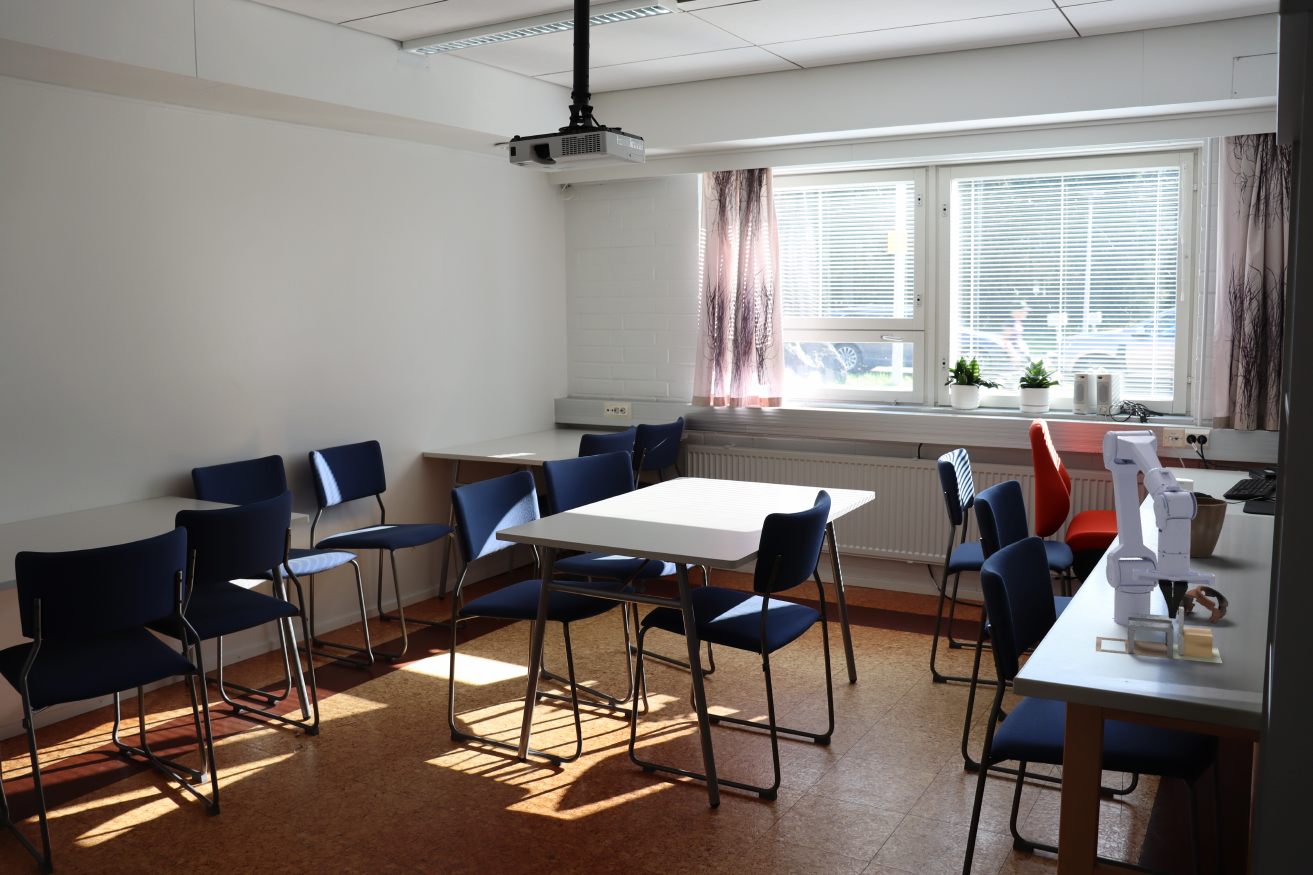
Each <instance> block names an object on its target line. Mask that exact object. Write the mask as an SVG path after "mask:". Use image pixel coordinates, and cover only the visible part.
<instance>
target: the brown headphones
mask: <svg viewBox="0 0 1313 875" xmlns="http://www.w3.org/2000/svg"><path fill="white" fill-rule="evenodd" d="M1202 592H1204V594H1203V593H1202ZM1209 597H1210V598H1216V600H1217V602H1218V603H1217V604H1218V608H1216V605H1217V604H1216V602H1214V601H1212V599H1211V600H1210V599H1209ZM1194 599H1195V602H1196V603H1198V604H1199V605H1201V606H1203V607H1204V608H1206V609H1207V610H1209V611H1211V616H1210V617H1209V619H1208V620H1209V622H1211V623H1213V622H1215V623H1216V622H1218V621H1219V619H1222V618H1224V616H1226V615H1227V611H1228V610H1227V608H1228V606H1229V601H1228V600H1227V598H1226V596H1224V595H1223V594H1222V593H1221V592H1220V591H1218V590H1216V589H1215V588H1212V587H1210V586H1206V585H1203V584H1200V585H1198V586H1197V587H1196V588H1194V589H1190V590H1187V592H1186V593H1185V595H1184V597H1183V598H1182V600H1181V603H1180V605H1179V607H1184V616H1187V612H1190V611H1193V609H1194V607H1196V603H1194ZM1172 603H1173V596H1172ZM1177 616H1179V608H1178V611H1177Z"/></svg>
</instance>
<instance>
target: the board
mask: <svg viewBox="0 0 1313 875" xmlns="http://www.w3.org/2000/svg"><path fill="white" fill-rule="evenodd" d="M1095 638H1096V639H1095V652H1102V653H1113V654H1120V655H1129V654H1128V638H1125V639H1124V638H1115V637H1114V638H1113V637H1106V636H1105V637H1103V636H1096V637H1095ZM1102 640H1104V641H1105V640H1106V641H1115V642H1124V646H1125V647H1124V650H1125V651H1124V650H1113V649H1104V648H1102ZM1130 655H1134V656H1143V657H1153V658H1163V659H1164V658H1165V659H1170V658H1169V657H1167V645H1165V642H1160V641H1159V642H1158V641H1147V640H1139V639H1138V640H1137V639H1136V640H1135V639H1134V654H1130ZM1171 659H1174V660H1183V661H1184V660H1185V661H1194V662H1207V663H1214V664H1215V663H1216V664H1223V661H1222V658H1221V655H1220V651H1219V648H1218V647H1213V646H1212V658H1204V657H1194V656H1183V655H1180V654H1179V652H1178V646H1177V643H1173V658H1171Z"/></svg>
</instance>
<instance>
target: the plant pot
mask: <svg viewBox="0 0 1313 875" xmlns="http://www.w3.org/2000/svg"><path fill="white" fill-rule="evenodd" d="M1195 498H1196V502H1197V513H1196V516H1195V518H1194V519H1193V520H1191V532H1190V558H1197V559H1198V558H1199V559H1200V558H1203V559H1205V558H1210V557H1212V555H1213V552H1214V551H1215V549H1216V545H1217V543H1218V540H1219V539H1220V535H1221V532H1222V530H1223V529H1222V528H1223V525H1224V523H1225V517H1226V513H1227V512H1226V511H1227V509H1228V508H1227V507H1228V501H1227V500H1225V499H1219V498H1214V497H1213V498H1212V497H1199V496H1198V497H1197V496H1195Z"/></svg>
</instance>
